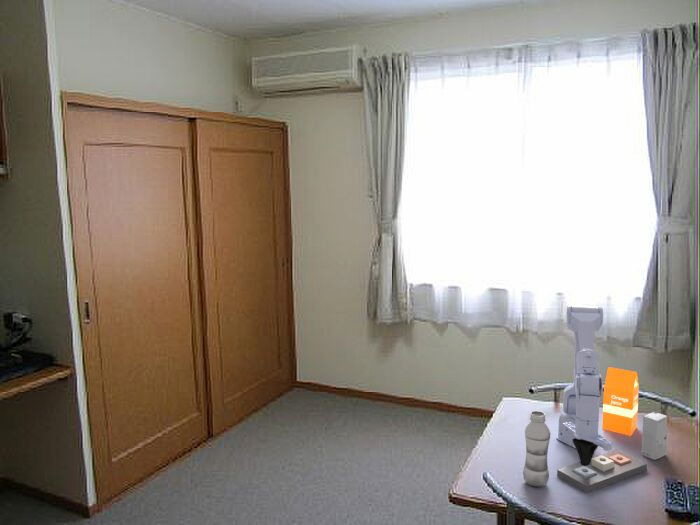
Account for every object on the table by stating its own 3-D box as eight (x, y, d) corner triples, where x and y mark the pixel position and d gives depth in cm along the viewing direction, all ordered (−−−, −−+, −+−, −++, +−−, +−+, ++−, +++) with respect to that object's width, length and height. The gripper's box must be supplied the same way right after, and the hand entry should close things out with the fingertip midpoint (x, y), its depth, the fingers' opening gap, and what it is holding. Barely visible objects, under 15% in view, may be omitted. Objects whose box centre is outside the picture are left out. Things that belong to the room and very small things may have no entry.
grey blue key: (573, 476, 159) (573, 468, 159) (583, 472, 161) (584, 465, 160) (585, 482, 155) (585, 475, 155) (595, 479, 157) (596, 471, 157)
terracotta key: (608, 463, 165) (608, 456, 165) (617, 460, 167) (618, 453, 167) (620, 469, 162) (620, 462, 161) (630, 466, 164) (630, 459, 163)
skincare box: (655, 460, 168) (657, 421, 166) (640, 454, 171) (642, 416, 170) (666, 454, 171) (669, 416, 169) (651, 449, 175) (653, 411, 173)
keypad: (557, 476, 160) (557, 469, 160) (615, 455, 171) (616, 449, 171) (586, 493, 151) (586, 486, 151) (646, 470, 162) (647, 463, 162)
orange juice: (608, 420, 195) (611, 363, 192) (636, 427, 190) (640, 368, 187) (601, 428, 189) (604, 370, 186) (631, 436, 184) (634, 375, 181)
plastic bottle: (528, 474, 161) (530, 406, 158) (552, 482, 157) (554, 412, 154) (518, 484, 156) (520, 414, 153) (543, 492, 152) (545, 420, 149)
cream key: (591, 465, 162) (591, 458, 162) (601, 461, 164) (601, 454, 163) (603, 471, 158) (603, 464, 158) (613, 467, 160) (613, 460, 160)
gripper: (555, 410, 160) (553, 456, 162) (599, 430, 147) (597, 480, 149) (573, 405, 163) (571, 450, 165) (618, 424, 150) (615, 473, 153)
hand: (585, 464), depth 158 cm, fingers closed
